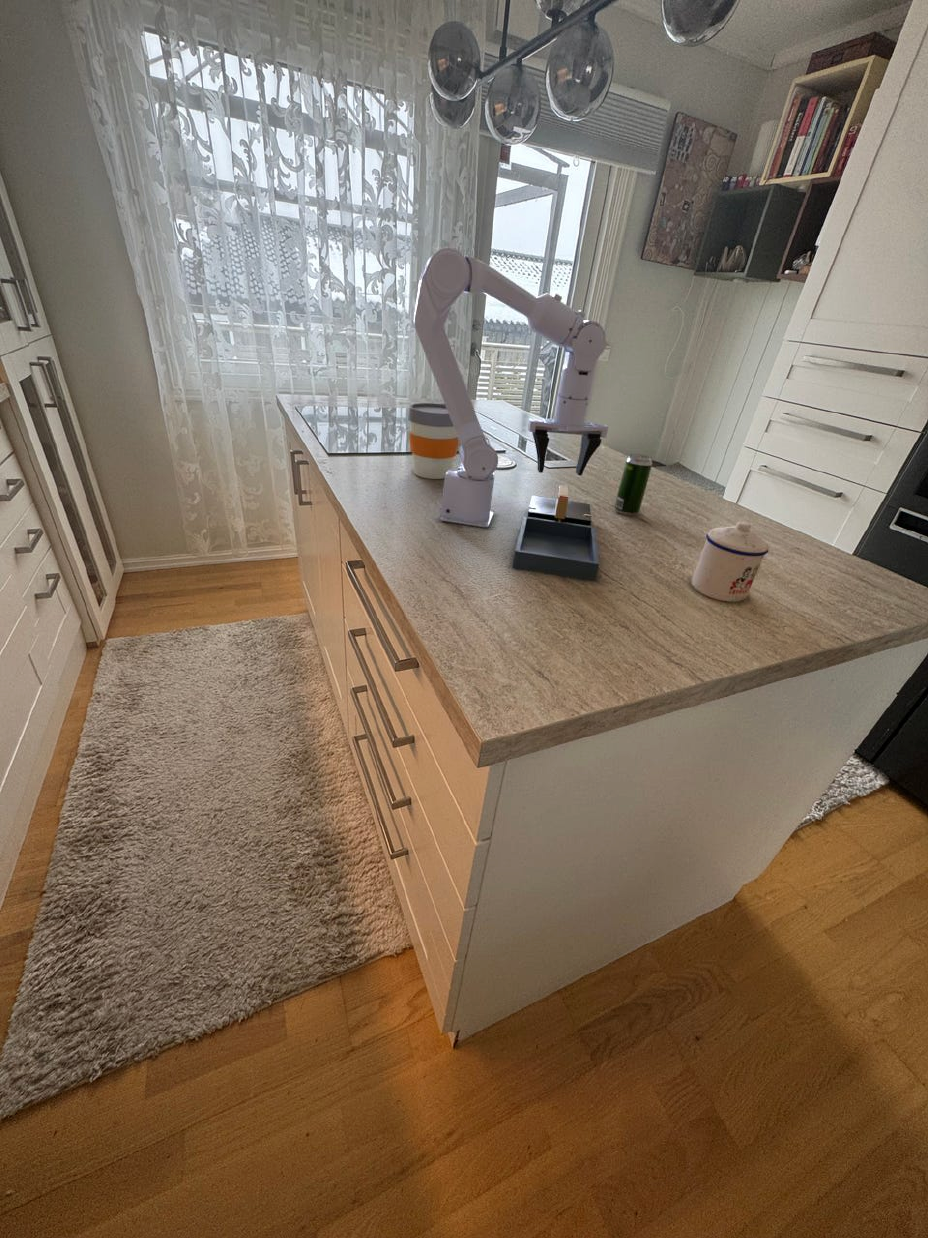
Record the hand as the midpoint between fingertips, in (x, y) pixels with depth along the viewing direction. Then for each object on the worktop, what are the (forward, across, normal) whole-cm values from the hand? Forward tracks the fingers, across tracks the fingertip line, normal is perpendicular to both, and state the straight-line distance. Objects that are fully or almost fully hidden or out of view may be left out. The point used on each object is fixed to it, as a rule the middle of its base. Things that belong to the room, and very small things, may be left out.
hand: (559, 472), depth 100 cm
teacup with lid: (+10, +24, -25) cm, 36 cm away
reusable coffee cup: (+10, -24, +28) cm, 38 cm away
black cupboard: (+10, +1, -3) cm, 10 cm away
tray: (+10, -2, -16) cm, 19 cm away
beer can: (+10, +19, +9) cm, 24 cm away
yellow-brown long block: (+7, +1, -3) cm, 7 cm away
